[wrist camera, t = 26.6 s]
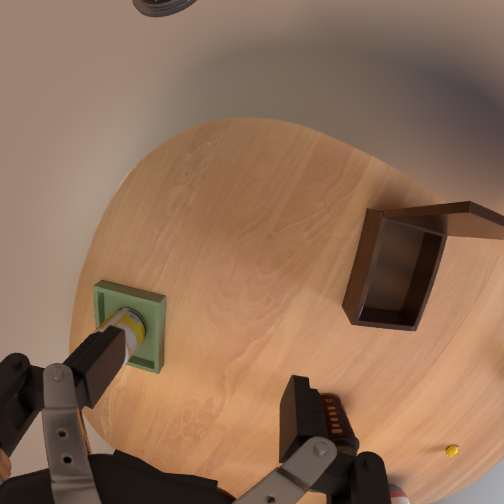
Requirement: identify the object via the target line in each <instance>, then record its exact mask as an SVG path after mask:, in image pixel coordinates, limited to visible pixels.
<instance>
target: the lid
mask: <svg viewBox="0 0 504 504" xmlns="http://www.w3.org/2000/svg"><path fill="white" fill-rule="evenodd" d="M384 218H387V219H391V220H394V221H398V222H402V223H406V224H410V225H413V226H417V227H421V228H424V229H428V230H431V231H435V232H438V233H442V234H445V235H448V236H458V237H472V238H486V239H499V240H504V216H503V215H500V214H498V213H496V212H494V211H492V210H490V209H487V208H485V207H483V206H480V205H478V204H476V203H474V202H471V201H465V202H456V203H447V204H438V205H429V206H421V207H412V208H404V209H396V210H388V211H385V213H384Z"/></svg>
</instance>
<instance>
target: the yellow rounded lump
mask: <svg viewBox="0 0 504 504" xmlns="http://www.w3.org/2000/svg"><path fill="white" fill-rule="evenodd" d="M458 449H459V446H454V445H453V446H450V447H449V448H448V449H447V451H446V453H447V455H448V456H449V457H450V456H454V455H455V454H456V453H457V450H458Z"/></svg>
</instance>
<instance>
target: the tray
mask: <svg viewBox="0 0 504 504" xmlns="http://www.w3.org/2000/svg"><path fill="white" fill-rule="evenodd" d="M93 289H94V307H95V320H96V329H97V328H98V327H99V326H100V325H101V324H102V323H103V322H104V321H105V320H106V319H107V318H108V317H109V316H111V315H112V314H113V313H114V312H115V311H116V310H118V309H120V308H129V309H132V310H134V311H136V312H137V313H138V314H139V315H140V316H141V317H142V318H143V320H144V322H145V324H146V328H147V332H146V336H145V338H144V340H143V341H142V342H141V344H140V345H139V347H138V348H137V349H136V351H135V352H134V354H133V355H132V356H131V358H130V359H129V361H128V362H127V363H126V364H127V365H130V366H133V367H136V368H139V369H143V370H146V371H150V372H153V373H157V374H159V373H160V371H161V369H162V367H163V354H164V319H165V299H166V296H163V295H159V294H155V293H151V292H146V291H142V290H138V289H134V288H130V287H126V286H122V285H118V284H114V283H111V282H107V281H103V280H101V281H99V282H98V283H96V284H95V285H93Z"/></svg>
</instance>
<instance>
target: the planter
mask: <svg viewBox="0 0 504 504" xmlns="http://www.w3.org/2000/svg"><path fill="white" fill-rule="evenodd" d="M388 486H389V492H390V497H391V503H392V504H410V502H409V500H408V498H407V496H406V494H405V493H404V491H403V490H402V489H401V488H399V487H398V486H396V485H392V484H388Z"/></svg>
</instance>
